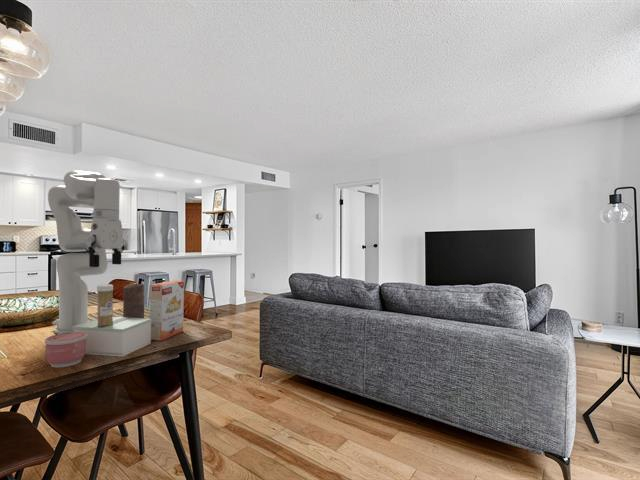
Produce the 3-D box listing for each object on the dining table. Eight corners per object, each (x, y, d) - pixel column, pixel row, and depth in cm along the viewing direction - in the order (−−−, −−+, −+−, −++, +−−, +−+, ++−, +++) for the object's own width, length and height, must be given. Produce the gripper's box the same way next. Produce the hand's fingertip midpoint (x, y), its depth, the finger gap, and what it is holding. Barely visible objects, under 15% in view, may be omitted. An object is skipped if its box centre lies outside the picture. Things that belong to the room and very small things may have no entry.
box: (73, 353, 114) (73, 329, 114) (106, 340, 128) (106, 319, 127) (122, 356, 111) (122, 331, 111) (150, 343, 125) (150, 321, 125)
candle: (140, 337, 131) (140, 285, 131) (119, 338, 130) (119, 285, 130) (146, 332, 139) (147, 283, 139) (127, 333, 138) (127, 283, 138)
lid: (72, 329, 113) (72, 326, 113) (106, 318, 128) (106, 316, 128) (122, 332, 110) (122, 329, 110) (151, 321, 125) (151, 318, 125)
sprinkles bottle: (106, 326, 113) (105, 286, 113) (93, 326, 114) (93, 285, 113) (116, 323, 117) (116, 284, 117) (104, 322, 118) (104, 283, 118)
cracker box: (162, 341, 127) (162, 285, 127) (147, 340, 128) (148, 284, 128) (184, 331, 141) (184, 280, 141) (171, 330, 142) (171, 280, 142)
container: (81, 354, 113) (81, 330, 113) (91, 362, 106) (91, 336, 106) (41, 363, 105) (41, 336, 105) (49, 372, 98) (49, 344, 98)
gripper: (95, 214, 108) (94, 268, 108) (134, 216, 125) (133, 263, 125) (74, 213, 109) (74, 267, 110) (115, 216, 126) (115, 262, 127)
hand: (105, 265), depth 118 cm, fingers open, 9 cm apart
